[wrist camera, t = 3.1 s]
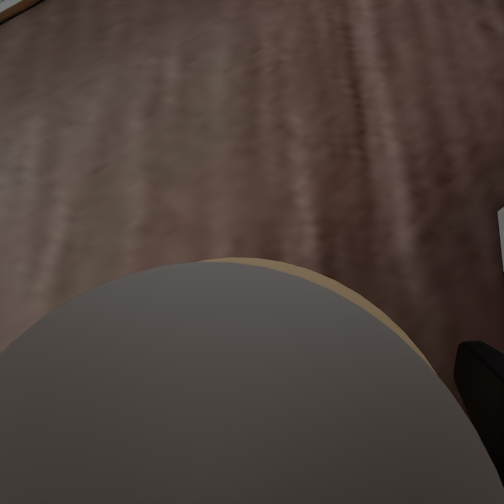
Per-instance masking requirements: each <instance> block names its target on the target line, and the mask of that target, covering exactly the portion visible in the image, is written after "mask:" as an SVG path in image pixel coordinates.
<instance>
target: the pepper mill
mask: <svg viewBox="0 0 504 504" xmlns="http://www.w3.org/2000/svg"><path fill="white" fill-rule="evenodd" d="M0 504H504V488H503V485H502V483H501V480H500V477H499V475H498V472H497V470H496V468H495V466H494V464H493V462H492V460H491V458H490V456H489V455H488V453H487V451H486V449H485V447H484V445H483V443H482V441H481V439H480V437H479V435H478V433H477V431H476V429H475V428H474V426H473V425H472V423H471V422H470V420H469V419H468V417H467V416H466V414H465V413H464V411H463V410H462V408H461V407H460V405H459V404H458V402H457V401H456V399H455V398H454V396H453V395H452V393H451V391H450V390H449V389H448V388H447V387H446V385H445V384H444V383H443V382H442V381H441V380H440V378H439V377H438V376H437V374H436V373H435V371H434V370H433V368H432V367H431V365H430V364H429V362H428V361H427V359H426V358H425V356H424V355H423V354H422V353H421V351H420V350H419V349H418V348H417V347H416V346H415V344H414V343H413V342H412V341H411V340H410V338H409V337H408V336H407V335H406V334H405V332H404V331H403V330H401V329H400V328H399V327H398V326H397V325H396V324H395V323H394V322H393V321H392V320H391V319H390V318H389V317H388V316H387V315H386V314H384V313H383V312H382V311H381V310H380V309H378V308H377V307H376V306H374V305H373V304H372V303H370V302H369V301H367V300H366V299H365V298H363V297H362V296H361V295H359V294H358V293H356V292H354V291H353V290H351V289H349V288H347V287H346V286H344V285H342V284H340V283H338V282H337V281H335V280H333V279H331V278H328V277H326V276H323V275H321V274H319V273H316V272H314V271H311V270H309V269H306V268H302V267H298V266H295V265H291V264H288V263H284V262H279V261H272V260H265V259H258V258H220V259H211V260H202V261H198V262H191V263H181V264H172V265H165V266H160V267H156V268H152V269H147V270H143V271H138V272H134V273H131V274H128V275H126V276H123V277H120V278H117V279H115V280H112V281H109V282H106V283H104V284H101V285H99V286H97V287H95V288H93V289H91V290H89V291H87V292H85V293H83V294H81V295H79V296H77V297H75V298H73V299H71V300H69V301H68V302H66V303H65V304H63V305H62V306H60V307H58V308H57V309H55V310H54V311H52V312H51V313H49V314H48V315H46V316H45V317H43V318H42V319H40V320H39V321H38V322H36V323H35V324H34V325H33V326H31V327H30V328H29V329H28V330H27V331H25V332H24V333H23V334H22V335H20V336H19V337H18V338H17V339H16V340H14V341H13V342H12V343H11V344H10V345H9V346H8V347H7V348H6V349H5V350H4V351H3V352H2V353H1V354H0Z"/></svg>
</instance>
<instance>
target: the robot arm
mask: <svg viewBox="0 0 504 504" xmlns="http://www.w3.org/2000/svg"><path fill="white" fill-rule="evenodd" d="M454 380H455V384H456V386H457V389H458V391H459V393H460V396H461V398H462V400H463V403H464V405H465V407H466V410H467V412H468V415H469V417H470V419H471V422H472V424H473V426H474V428H475V429H476V431H477V433H478V435H479V437H480V439H481V441H482V443H483V445H484V447H485V449H486V451H487V453H488V455H489V456H490V458H491V460H492V462H493V464H494V466H495V468H496V470H497V472H498V475H499V477H500V480H501V483H502V485H503V487H504V352H502V351H500V350H498V349H496V348H494V347H492V346H490V345H489V344H487V343H485V342H483V341H465V342H461V343H460V344H459V346H458V349H457V354H456V360H455V366H454Z"/></svg>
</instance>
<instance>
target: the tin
mask: <svg viewBox="0 0 504 504" xmlns="http://www.w3.org/2000/svg"><path fill="white" fill-rule="evenodd" d="M39 1H40V0H0V23H1V22H3V21H5V20H7V19H8V18H10V17H12V16H14V15H16V14H18V13H20V12H22V11H24V10H26V9H27V8H29V7H31V6H33V5H34V4H36V3H37V2H39Z"/></svg>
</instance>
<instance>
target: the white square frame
mask: <svg viewBox="0 0 504 504" xmlns="http://www.w3.org/2000/svg"><path fill="white" fill-rule="evenodd" d="M497 213H498V223H499V232H500V242H501V251H502V261H503V270H504V207H503V208H502V209H501V210H499V211H498V212H497Z"/></svg>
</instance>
